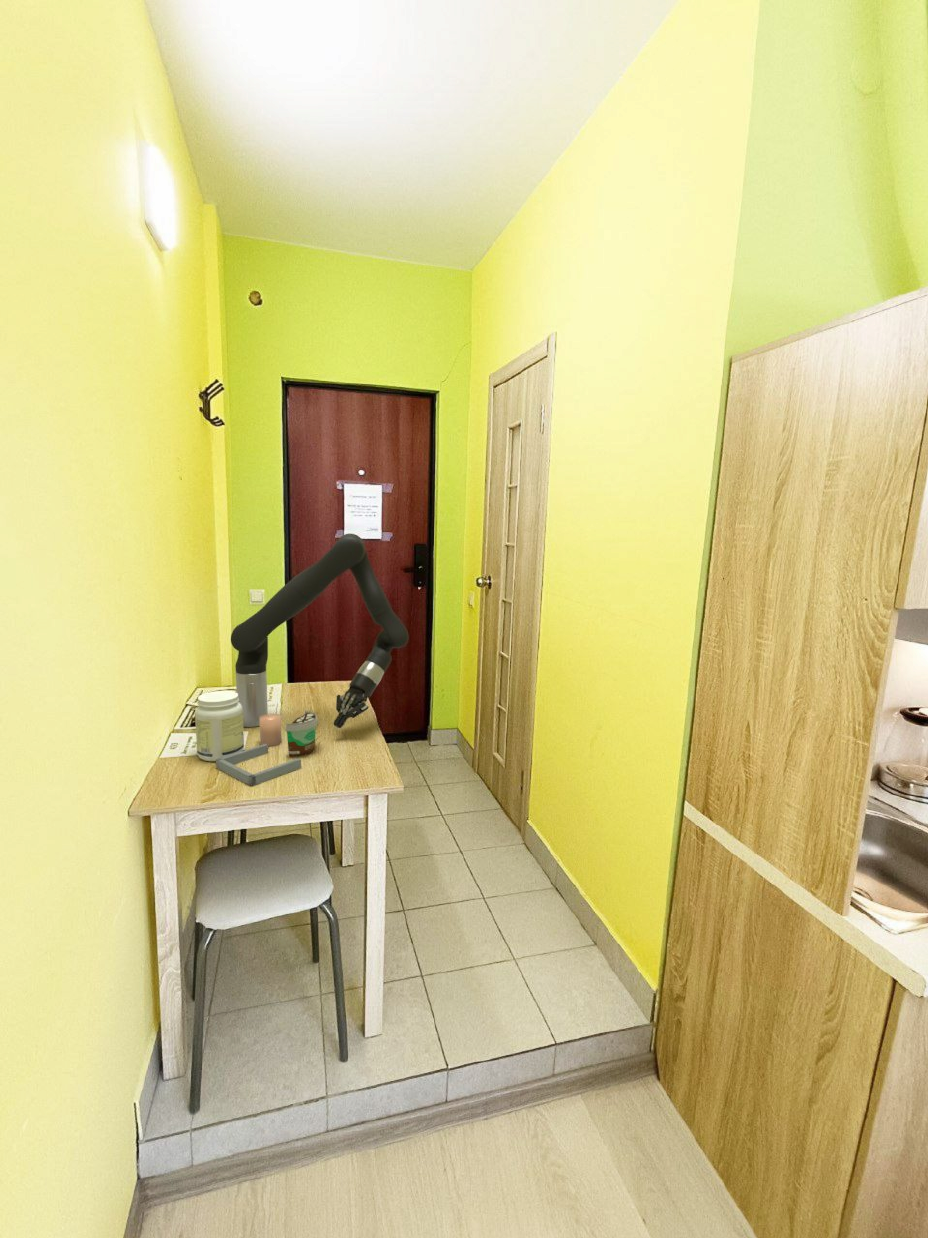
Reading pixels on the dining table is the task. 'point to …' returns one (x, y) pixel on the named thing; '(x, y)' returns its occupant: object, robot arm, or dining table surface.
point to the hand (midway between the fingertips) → (336, 726)
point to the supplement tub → (219, 725)
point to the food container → (302, 735)
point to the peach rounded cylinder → (270, 729)
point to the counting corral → (254, 779)
